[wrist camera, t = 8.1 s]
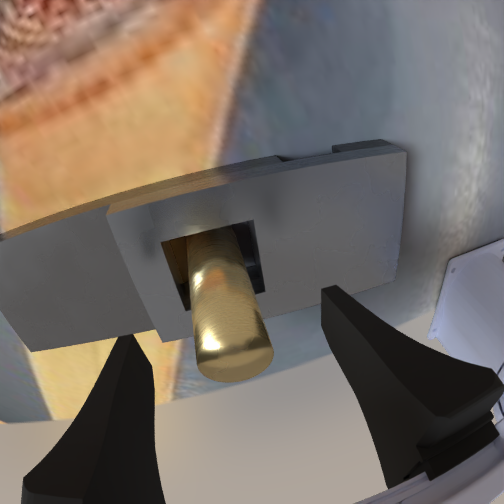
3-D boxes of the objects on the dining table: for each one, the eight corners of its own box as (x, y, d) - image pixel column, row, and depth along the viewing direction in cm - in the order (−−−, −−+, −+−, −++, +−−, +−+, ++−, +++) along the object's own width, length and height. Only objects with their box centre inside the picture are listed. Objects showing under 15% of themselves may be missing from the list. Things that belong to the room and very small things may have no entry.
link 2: (376, 259, 20) (395, 280, 18) (162, 313, 19) (162, 342, 17) (381, 139, 16) (406, 151, 14) (115, 194, 15) (105, 215, 13)
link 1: (290, 282, 20) (296, 295, 19) (35, 339, 18) (31, 352, 17) (275, 155, 15) (282, 162, 14) (-24, 244, 14) (-33, 255, 13)
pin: (237, 256, 18) (274, 374, 11) (191, 265, 18) (204, 387, 11) (232, 214, 16) (272, 326, 10) (182, 223, 16) (189, 342, 10)
